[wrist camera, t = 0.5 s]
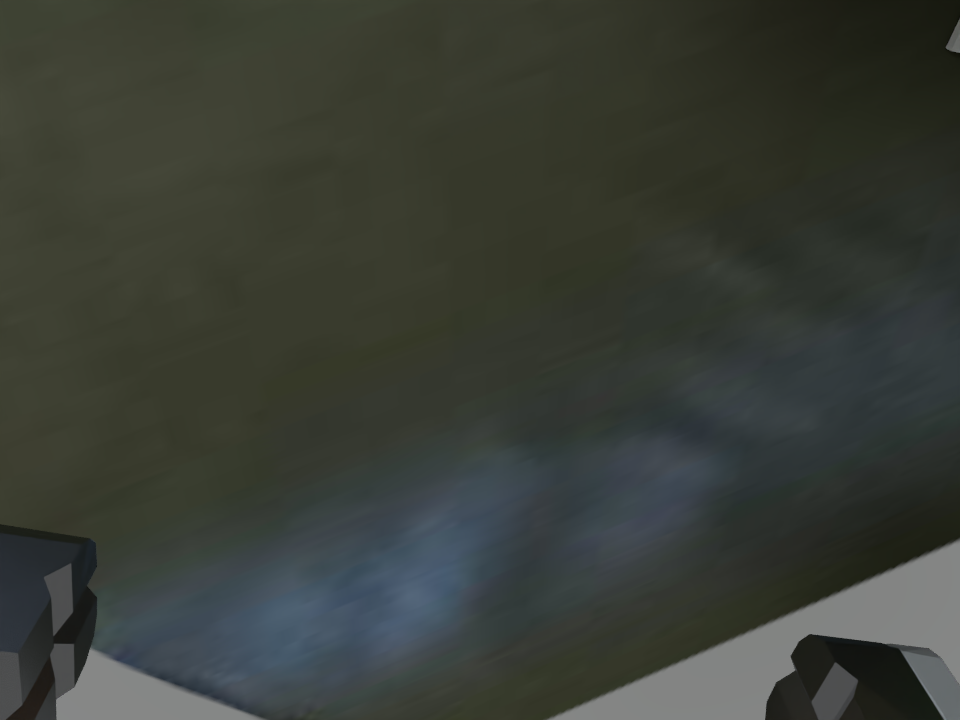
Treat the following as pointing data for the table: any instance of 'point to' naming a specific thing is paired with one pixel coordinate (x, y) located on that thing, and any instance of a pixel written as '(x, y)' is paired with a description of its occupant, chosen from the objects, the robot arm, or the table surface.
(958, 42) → the mat
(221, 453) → the table surface
